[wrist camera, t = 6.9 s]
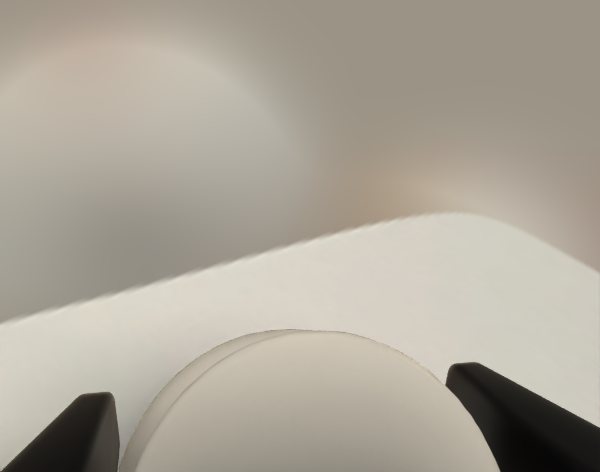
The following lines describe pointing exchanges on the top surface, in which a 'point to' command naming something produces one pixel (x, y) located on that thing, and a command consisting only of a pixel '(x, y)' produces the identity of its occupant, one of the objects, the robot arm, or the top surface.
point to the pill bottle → (306, 412)
